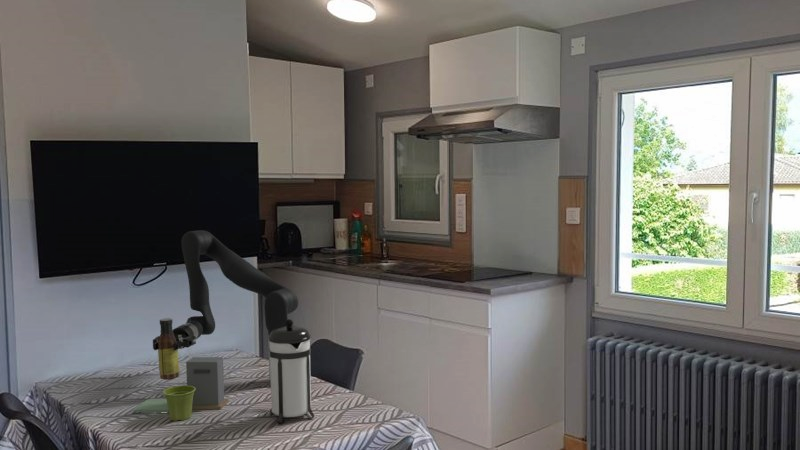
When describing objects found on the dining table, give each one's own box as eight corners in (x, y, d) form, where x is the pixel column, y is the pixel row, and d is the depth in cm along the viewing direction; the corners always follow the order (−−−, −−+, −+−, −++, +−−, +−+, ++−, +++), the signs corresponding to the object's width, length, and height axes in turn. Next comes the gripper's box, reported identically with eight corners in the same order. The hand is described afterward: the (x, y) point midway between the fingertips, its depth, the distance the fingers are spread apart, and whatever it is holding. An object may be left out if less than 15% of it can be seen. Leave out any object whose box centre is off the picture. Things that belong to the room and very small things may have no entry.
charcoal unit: (228, 401, 221) (227, 356, 220) (220, 409, 213) (219, 362, 212) (192, 401, 222) (190, 356, 221) (183, 409, 214) (181, 362, 213)
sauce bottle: (183, 376, 228) (181, 318, 226) (171, 381, 222) (169, 321, 221) (167, 374, 230) (165, 316, 229) (154, 379, 224) (152, 320, 223)
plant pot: (178, 425, 200) (177, 396, 199) (157, 419, 205) (156, 391, 204) (203, 415, 208) (202, 388, 207) (182, 410, 213) (181, 383, 212)
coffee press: (327, 410, 211) (325, 315, 209) (298, 427, 196) (296, 326, 194) (280, 403, 218) (278, 312, 216) (250, 419, 204) (247, 321, 202)
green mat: (181, 401, 222) (181, 398, 222) (168, 413, 211) (168, 409, 211) (148, 401, 222) (148, 398, 222) (133, 413, 211) (133, 409, 211)
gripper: (164, 325, 240) (143, 336, 223) (203, 325, 239) (185, 336, 222) (164, 345, 240) (144, 358, 224) (204, 345, 239) (186, 358, 223)
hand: (164, 347), depth 223 cm, fingers closed on sauce bottle, 6 cm apart
